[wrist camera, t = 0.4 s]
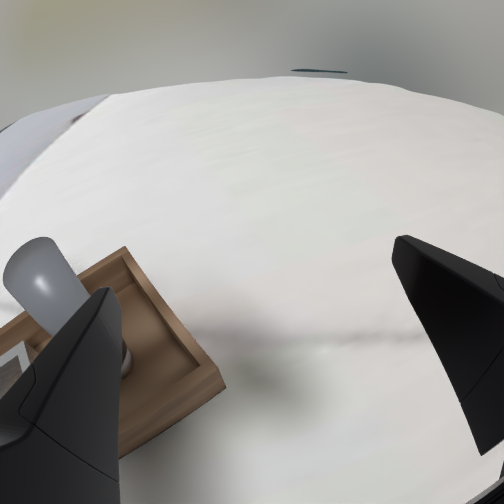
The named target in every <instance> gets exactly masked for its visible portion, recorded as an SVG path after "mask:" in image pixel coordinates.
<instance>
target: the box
mask: <svg viewBox="0 0 504 504" xmlns="http://www.w3.org/2000/svg"><path fill="white" fill-rule="evenodd" d="M77 277H78V279H79V280H80V282H81V283H82V284H83V286H84V287H85V289H86V290H87V292H88V293H89V294H90V296H91V295H92V294H93V293H94V292H95V291H96V290H97V289H98V288H101V287H107V286H109V287H111V288H112V289H113V291H114V293H115V295H116V297H117V299H118V302H119V304H120V306H121V310H122V337H123V339H124V340H125V343H126V346H127V347H128V348H129V349H130V351H131V352H132V354H133V358H134V363H133V367H132V370H131V372H130V373H129V374H128V375H127V376H126V377H125V378H124V379H122V380H121V381H120V399H119V429H118V459H120V458H122V457H123V456H125V455H127V454H128V453H130V452H132V451H133V450H135V449H137V448H138V447H140V446H141V445H143V444H145V443H146V442H148V441H149V440H151V439H153V438H154V437H156V436H157V435H159V434H160V433H162V432H163V431H165V430H166V429H168V428H169V427H171V426H172V425H174V424H175V423H177V422H178V421H180V420H181V419H183V418H184V417H186V416H187V415H189V414H190V413H192V412H193V411H194V410H196V409H197V408H199V407H200V406H202V405H203V404H204V403H206V402H207V401H209V400H210V399H211V398H213V397H214V396H216V395H217V394H218V393H220V392H221V391H222V390H224V389H225V388H226V386H225V383H224V381H223V379H222V376H221V374H220V371H219V369H218V367H217V366H216V365H215V363H214V362H213V361H212V360H211V359H210V357H209V356H208V355H207V354H206V353H205V351H204V350H203V349H202V348H201V347H200V345H199V344H198V343H197V342H196V340H195V339H194V338H193V337H192V336H191V334H190V333H189V332H188V331H187V329H186V328H185V327H184V326H183V324H182V323H181V322H180V320H179V319H178V318H177V317H176V315H175V314H174V313H173V311H172V310H171V309H170V308H169V306H168V305H167V304H166V302H165V301H164V300H163V298H162V297H161V296H160V294H159V293H158V292H157V290H156V289H155V287H154V286H153V285H152V283H151V282H150V281H149V279H148V278H147V276H146V275H145V274H144V272H143V271H142V269H141V268H140V267H139V265H138V264H137V262H136V261H135V260H134V258H133V257H132V255H131V254H130V252H129V251H128V249H127V248H126V246H124V247H122V248H120V249H119V250H117V251H115V252H114V253H112V254H111V255H109V256H107V257H106V258H104V259H102V260H101V261H99V262H98V263H96V264H94V265H93V266H91V267H90V268H88V269H87V270H85V271H83V272H82V273H80V274H79V275H77ZM52 338H53V337H52V336H51V335H50V334H49V333H48V332H46V331H45V330H44V329H43V328H42V327H41V326H40V325H39V324H38V323H37V322H36V321H35V320H34V319H33V317H32V316H31V315H30V314H29V313H28V312H27V311H26V310H25V311H24V312H22V313H21V314H20V315H18V316H17V317H15V318H14V319H13V320H11V321H10V322H8V323H7V324H6V325H4V326H3V327H2V328H0V357H1V356H2V355H3V354H5V353H6V352H7V351H9V350H10V349H12V348H13V347H14V346H16V345H17V344H19V343H20V342H22V341H23V340H24V341H25V342H26V343H27V344H28V345H29V346H31V347H32V348H33V349H34V350H35V351H36V352H38V353H40V352H41V351H42V350H43V348H44V347H45V346H46V345H47V344H48V343H49V341H50V340H51V339H52Z"/></svg>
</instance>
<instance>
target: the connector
mask: <svg viewBox="0 0 504 504" xmlns="http://www.w3.org/2000/svg"><path fill="white" fill-rule="evenodd" d="M3 284H4V286H5V288H6V289H7V290H8V291H9V293H10V294H11V295H12V296H13V297H14V298H15V299H16V300H17V302H18V303H19V304H20V305H21V306H22V307H23V308H24V309H25V310H26V311H27V312H28V313H29V314H30V315H31V316H32V317H33V319H34V320H35V321H36V322H37V323H38V324H39V325H40V326H41V327H42V328H43V329H44V330H45V331H46V332H48V333H49V334H50V335H51V336H52V337H54V336H55V335H56V333H57V332H58V331H59V330H60V329H61V328H62V327H63V326H64V324H65V323H66V322H67V321H68V320H69V319H70V318H71V317H72V316H73V314H74V313H75V312H76V311H77V310H78V309H79V308H80V307H81V306H82V305H83V304H84V303H85V301H86V300H87V299H88V298H89V297H90V294H89V293H88V292H87V290H86V289H85V287H84V286H83V284H82V283H81V282H80V280H79V279H78V277H77V276H76V274H75V273H74V271H73V270H72V268H71V267H70V265H69V264H68V262H67V261H66V259H65V258H64V256H63V255H62V253H61V251H60V250H59V248H58V247H57V245H56V243H55V242H54V241H53V240H52V239H51V238H48V237H38V238H35V239H32V240H30V241H28V242H27V243H25V244H24V245H22V246H21V247H20V248H19V249H18V250H17V251H16V252H15V253H14V254H13V255H12V256H11V258H10V259H9V261H8V263H7V265H6V267H5V270H4V273H3ZM133 363H134V358H133V354H132V352H131V351H130V349H129V348H128V347H127V346H126V343H125V340H124V339H123V337H122V367H121V380H122V379H124V378H125V377H126V376H127V375H128V374H129V373H130V372H131V370H132V367H133Z"/></svg>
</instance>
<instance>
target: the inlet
mask: <svg viewBox="0 0 504 504" xmlns="http://www.w3.org/2000/svg"><path fill="white" fill-rule="evenodd" d="M38 354H39V353H38V352H36V351H35V350H34V349H33V348H32V347H31V346H29V345H28V344H27V343H26V342H25V341H24V340H23V341H22V342H20V343H19V344H17V345H16V346H14V347H13V348H12V349H10V350H9V351H7V352H6V353H5V354H3V355H2V356H1V357H0V399H1V398H2V396H3V395H4V394H5V393H6V392H7V391H8V390H9V389H10V388H11V386H12V385H13V384H14V383H15V382H16V381H17V380H18V378H19V377H20V376H21V375H22V374H23V372H24V371H25V370H26V369H27V368H28V366H29V365H30V364H31V363H33V360H34V359H35V358H36V357H37V356H38Z"/></svg>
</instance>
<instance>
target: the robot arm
mask: <svg viewBox="0 0 504 504" xmlns="http://www.w3.org/2000/svg"><path fill="white" fill-rule="evenodd" d="M392 264H393V266H394V268H395V270H396V273H397V275H398V277H399V279H400V281H401V284H402V286H403V288H404V290H405V293H406V295H407V297H408V299H409V301H410V303H411V305H412V307H413V309H414V310H415V312H416V314H417V316H418V318H419V320H420V321H421V323H422V325H423V327H424V329H425V331H426V333H427V335H428V337H429V339H430V340H431V342H432V344H433V346H434V348H435V350H436V352H437V354H438V356H439V358H440V361H441V363H442V365H443V367H444V369H445V371H446V373H447V375H448V377H449V380H450V382H451V384H452V386H453V388H454V391H455V393H456V395H457V397H458V400H459V402H460V403H461V404H460V405H461V407H462V410H463V412H464V414H465V417H466V419H467V422H468V424H469V427H470V429H471V432H472V435H473V437H474V440H475V443H476V445H477V448H478V451H479V453H480V455H481V456H482V455H484V454H485V453H487V452H488V451H490V450H491V449H492V448H494V447H495V446H497V445H498V444H499V443H501V442H502V441H503V440H504V278H503V277H501V276H499V275H497V274H495V273H494V274H493V273H492V272H491V271H488V270H486V269H484V268H482V267H480V266H478V265H476V264H474V263H471V262H469V261H467V260H465V259H463V258H460V257H458V256H456V255H454V254H452V253H449V252H447V251H445V250H442V249H440V248H438V247H436V246H433V245H431V244H429V243H426V242H424V241H421V240H419V239H417V238H414V237H412V236H409V235H402V236H398V237H396V239H395V243H394V248H393V253H392ZM121 367H122V310H121V306H120V304H119V302H118V299H117V297H116V295H115V293H114V291H113V289H112V288H111V287H109V286H107V287H101V288H98V289H97V290H96V291H95V292H94V293H93V294H92V295H91V296H90V297H89V298H88V299H87V300H86V301H85V303H84V304H83V305H82V306H81V307H80V308H79V309H78V310H77V311H76V312H75V313H74V314H73V316H72V317H71V318H70V319H69V320H68V321H67V322H66V323H65V324H64V326H63V327H62V328H61V329H60V330H59V331H58V332H57V333H56V335H55V336H54V337H53V338H52V339H51V340H50V341H49V343H48V344H47V345H46V346H45V347H44V348H43V350H42V351H41V352H40V353H39V354H38V356H37V357H36V358H35V359H34V360H33V363H31V364H30V365H29V366H28V368H27V369H26V370H25V371H24V372H23V374H22V375H21V376H20V377H19V378H18V380H17V381H16V382H15V383H14V384H13V385H12V386H11V388H10V389H9V390H8V391H7V392H6V393H5V394H4V395H3V396H2V398H1V399H0V504H120V488H119V483H118V482H119V463H118V429H119V399H120V381H121ZM465 504H504V462H503V466H502V470H501V474H500V478H499V480H498V481H497V482H495V483H494V484H493V485H491V486H490V487H489V488H487V489H486V490H485V491H483V492H482V493H480V494H479V495H477V496H476V497H475V498H473V499H472V500H470V501H469V502H467V503H465Z"/></svg>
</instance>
